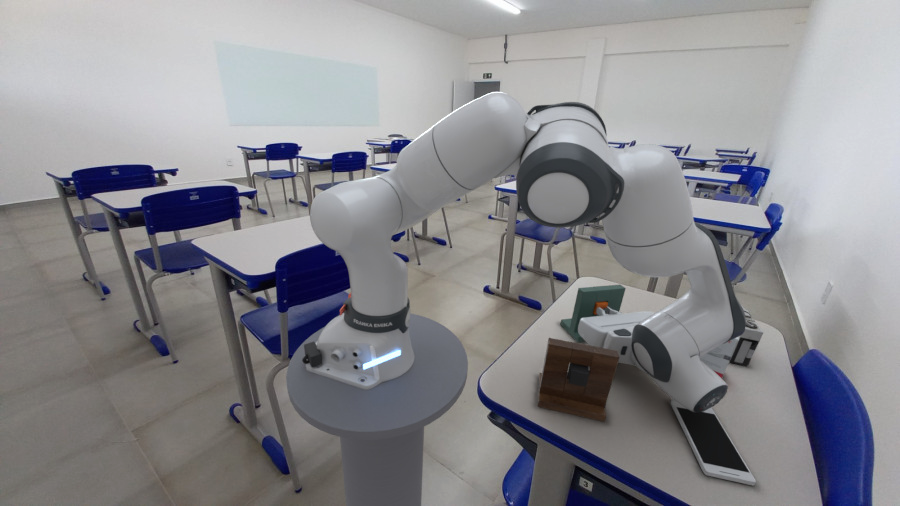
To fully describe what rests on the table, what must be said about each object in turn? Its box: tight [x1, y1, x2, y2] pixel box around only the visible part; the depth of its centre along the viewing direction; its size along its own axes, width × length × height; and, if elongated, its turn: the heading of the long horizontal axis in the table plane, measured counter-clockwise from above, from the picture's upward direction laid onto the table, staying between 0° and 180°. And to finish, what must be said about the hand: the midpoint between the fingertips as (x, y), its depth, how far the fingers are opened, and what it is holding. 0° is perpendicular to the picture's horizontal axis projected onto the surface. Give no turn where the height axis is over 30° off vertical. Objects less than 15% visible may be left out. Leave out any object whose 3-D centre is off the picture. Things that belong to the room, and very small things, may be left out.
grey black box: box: [729, 304, 765, 367], centre depth 87 cm, size 14×8×10 cm, turn 160°
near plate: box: [537, 337, 620, 423], centre depth 67 cm, size 8×12×13 cm, turn 76°
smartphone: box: [670, 398, 756, 486], centre depth 62 cm, size 7×15×1 cm, turn 168°
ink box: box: [700, 336, 740, 379], centre depth 77 cm, size 9×5×12 cm, turn 46°
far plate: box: [560, 284, 627, 343], centre depth 89 cm, size 8×12×13 cm, turn 105°
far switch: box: [593, 301, 608, 315], centre depth 87 cm, size 3×3×3 cm
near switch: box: [568, 363, 589, 387], centre depth 64 cm, size 3×3×3 cm
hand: (601, 309), depth 86 cm, fingers closed, pressing on far switch
